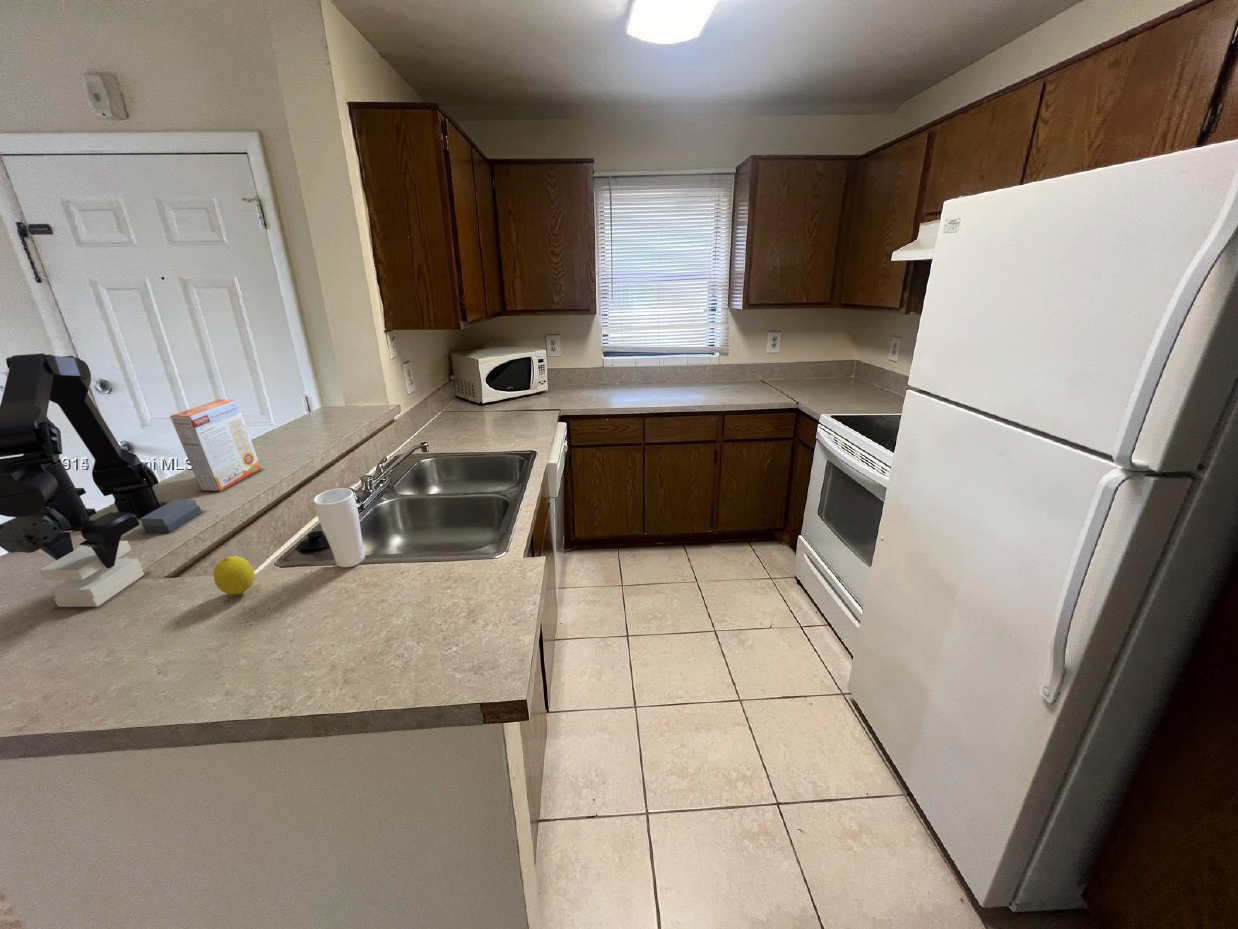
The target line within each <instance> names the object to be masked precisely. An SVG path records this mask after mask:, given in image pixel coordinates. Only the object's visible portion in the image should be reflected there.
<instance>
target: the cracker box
mask: <svg viewBox="0 0 1238 929" xmlns="http://www.w3.org/2000/svg"><path fill="white" fill-rule="evenodd" d="M169 418H170V421H171V422H172V425H173V427H174V429H175V432H176V434H177V436H178V439H179V441H180V444H181V446H182V448H183V450H184V454H185V456H186V458H187V460H188V463H189V465H190V467H191V470H192V472H193V474H194V476H195V479H196V481H197V484H198V487H199V488H200V490H201V491H204V492H205V491H207V492H222V491H224V490H226V489H227V488H229V487H231V486H233V485H235V484H237V483H238V482H240V481H242V480H244V479H246V478H248V477H250V476H251V475H253V474H255V473H257V472H259V471H260V470H262V468H261V465H260V461H259V459H258V456H257V454H256V450H255V447H254V445H253V441H252V439H251V436H250V433H249V431H248V427H247V425H246V421H245V419H244V416H243V413H242V411H241V408H240V405H239V402H238V400H237V399H224V398H223V399H216V400H213V401H210V402H207V403H204V404H201V405H199V406H195V407H192V408H189V409H186V410H183V411H180V412H177V413H174V414H171V415H170V416H169Z"/></svg>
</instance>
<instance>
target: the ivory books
mask: <svg viewBox="0 0 1238 929" xmlns="http://www.w3.org/2000/svg"><path fill="white" fill-rule="evenodd" d="M144 575H145V573H144V570H143V568H142V565H141V563H140V561H139V559H138V558H117V559H116V560H115V565H114V566H112V567H111V568H106V567H105V566H104V567H103V568H101V569H99V570H98V571H96V572H95V573H93V574H91V575H90V576H88V577H87V578H85V579H83V580H64V581H63V582H62V583H60V584H58V585H57V586H55V587H53V588H52V589H51V591H52V593H53V595H54V596H55V597H54V598H53V600H54V602H55V604H56V605H57V607H58V608H90V607H91V608H98V607H100V606H101V605H102V604H104V603H105V602H107V601H108V600H110V599H111V598H113V597H114V596H115V595H117V594H119V593H120V592H122V591H123V590H124V589H126V588H128V586H130V585H131V584H133V583H134V582H136V581H137V580H139V579H141V578H142V576H144Z"/></svg>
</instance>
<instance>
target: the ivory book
mask: <svg viewBox="0 0 1238 929" xmlns="http://www.w3.org/2000/svg"><path fill="white" fill-rule="evenodd" d="M129 551H132V548H131V545H130V544H129V542H128V540H120V542H119V546H118V550H117V555H116V559H120V557H122V556H124V555H125V554H127V553H129ZM103 567H104V565H103V563H102V562H101V561H100V559H99V558H98V556H97V555H96V553H95V552H94V551H93V549H92V548H91V547H88V546H83V545H80V547H77V548H76V549H74V551H72V552H71V553H69V554H67V555H65V556H63V557H62V558H60V559H58V560H56V559H55V561H52V562H51V563H49V564H47V565H46V566H43V567H42V568H39V569H38V572H39V574H40V575H41V577H42V578H43V580H44V581H54V580H55V581H58V580H59V581H61V580H62V581H67V580H83V579H85V578H87V577H88V576H90V575H91V574H93V573H95V572H96V571H98V570H99V569H101V568H103Z"/></svg>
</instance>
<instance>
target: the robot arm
mask: <svg viewBox="0 0 1238 929" xmlns="http://www.w3.org/2000/svg"><path fill="white" fill-rule="evenodd" d="M5 361H6V362H5V363H6V366H7V368H8V369H7V370H8V372H7V377H6V380H5V385H4V389H3V392H2V397H1V401H0V516H4V517H8V518H11V519H8V520H7V521H4V522H2V523H0V548H2V549H3V550H4V551H6V552H8V553H10V554H15V553H25V554H32V553H35V552H37V551H39V550H41V551H42V552H45V553H46V554H47V555H48V556H50V557H51V558H53V559H54V560H55V561H56V560H58V559H60V558H62V557H63V556H65V555H67V554H69V553H71V552H72V551H74V550H75V549H74V546H73V540H72V536H71V533H73V532H74V533H75V532H77V533H80V534H81V536H82V538H83V539H84V541H82V542H80V543H79V545H80V546H88V547H91V548H92V549H93V551H94V552H95V553H96V555H97V556H98V558H99V559H100V561H101V562H102V563H103V565H104V566H105V567H106V568H111V567H112V566H114V565H115V560H116V555H117V550H118V546H119V542H120V541H121V539H122V536H123V535H125V534H127V533H128V532H130V531H132V530H134V529H135V528H137V527H139V526H140V521H139V519H138V518H142V517H144V516H146V515H148V514H149V513H151V512H153V511H155V510H156V509H158V508H160V507H162V506H164V505H165V504H167V503H166V502H165V501H163V502H161V501H160V502H159V500H158V497H157V495H156V493H155V490H154V487H155V486H157V485H159V483H160V482H159V479H158V477H157V475H156V474H155V472H154V470H152V468H150V467H149V466H148V465H147V464H146V463H145V462H142V461H141V460H140V458H139V457H138V455H137V454H136V453H134V452H132V451H129V450H127V449H124V448H123V447H121V445H120V444H119V442H118V441H117V439H116V437H115V436H114V434H113V432H112V431H111V429H110V427H109V425H108V424H107V422H106V421H105V419H104V418H103V416H102V414H101V413H100V411H99V409H98V408H97V406H96V404H95V403H94V401H93V400H92V398H91V396H90V394H89V389H90V387H91V384H92V373H91V370H90V367H89V365H88V364H87V362H86V361H84V360H82V359H81V358H79V357H76V356H74V355H63V356H58V355H52V354H46V353H44V352H43V353H41V352H40V353H29V354H27V353H26V354H14V355H12V356H7V357H6V360H5ZM50 402H52V403H54V404H56V405H57V406H58V408H60V410H61V411H62V413H63V414H64V416H65V417H66V419H67V420H68V421H69V423H70V425H71V426H72V427H73V429H74V431H75V432H76V434H77V435H78V436H79V438H80V439H81V441H82V443H83V444H84V446H85V447H86V448H87V450H88V451H89V453H90V455H91V456H92V457H93V459H94V462H93V465H92V469H91V470H92V471H91V478H92V480H93V483H94V485H95V486H96V488H98V490H99V491H100V492H101V494H102V495H103V496H104V497H108V496H110V495H111V496H112V497H113V499H114V501H113V502H114V505H115V507H116V509H117V511H118V512H108V513H106V514H104V515H101V516H100V517H97V518H96V519H91V517H93V516H95V515H96V514H98V512H97V511H96V509H95V508H87V507H86V505H85V503H84V501H83V499H82V497H81V496H83V495H85V494H87V491H86V490H85V488H84V487H76V485H75V484H74V483H73V480H72V479H71V477H70V475H69V472H67V469H66V466H65V465H64V464H63V461H62V459H60V455H63V442H62V432H61V430H60V428H59V427H57V426H56V425H55V423H54V422H52V421H51V419H49V417H48V410H49V404H50Z"/></svg>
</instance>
